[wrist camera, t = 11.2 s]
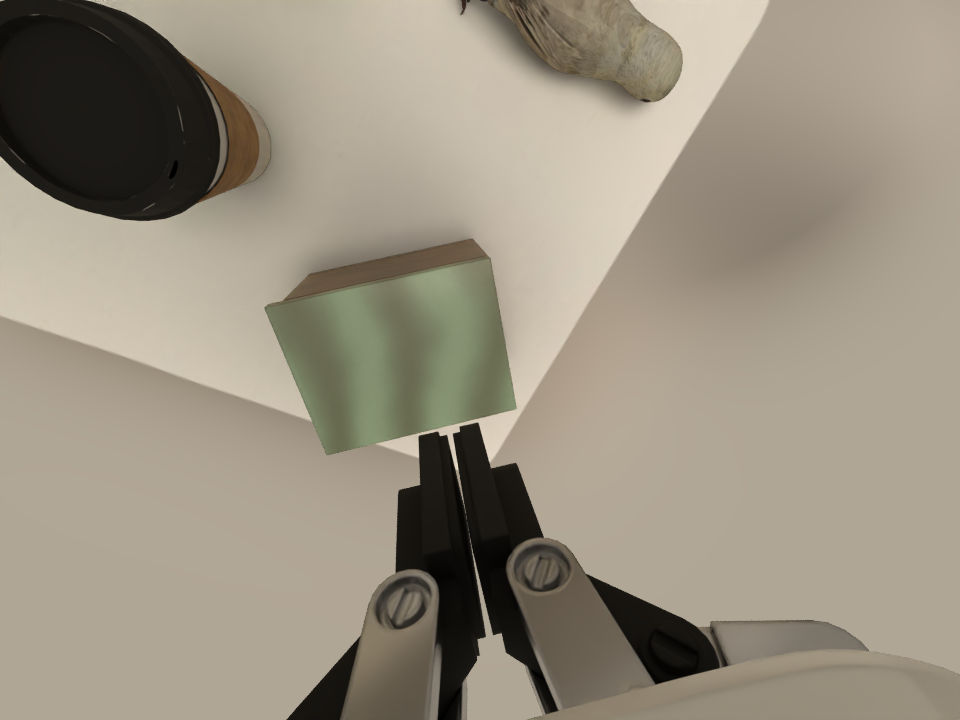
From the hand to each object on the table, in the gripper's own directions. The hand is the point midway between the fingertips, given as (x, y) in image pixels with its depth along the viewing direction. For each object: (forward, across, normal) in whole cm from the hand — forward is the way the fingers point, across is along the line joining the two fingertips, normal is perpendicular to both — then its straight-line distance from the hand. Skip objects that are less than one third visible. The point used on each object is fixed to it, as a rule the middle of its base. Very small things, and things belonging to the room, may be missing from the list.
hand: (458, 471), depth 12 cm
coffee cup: (+27, +12, -12) cm, 31 cm away
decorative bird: (+26, -13, -14) cm, 33 cm away
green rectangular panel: (+18, +3, +4) cm, 19 cm away
